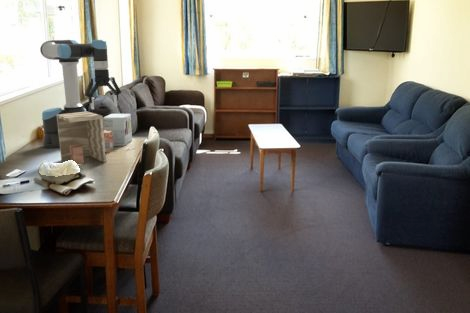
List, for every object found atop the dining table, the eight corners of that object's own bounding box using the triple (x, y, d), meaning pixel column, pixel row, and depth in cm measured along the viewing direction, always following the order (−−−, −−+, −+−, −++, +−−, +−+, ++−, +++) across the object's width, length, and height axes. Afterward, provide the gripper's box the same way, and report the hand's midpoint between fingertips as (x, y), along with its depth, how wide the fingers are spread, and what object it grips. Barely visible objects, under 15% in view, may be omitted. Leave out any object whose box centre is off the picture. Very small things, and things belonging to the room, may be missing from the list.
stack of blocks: (75, 152, 276) (73, 132, 273) (79, 149, 282) (77, 130, 279) (110, 152, 274) (108, 132, 271) (114, 150, 280) (112, 130, 277)
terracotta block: (71, 163, 250) (69, 145, 248) (80, 162, 253) (78, 144, 251) (74, 165, 246) (72, 147, 244) (83, 164, 249) (82, 145, 247)
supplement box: (125, 146, 290) (123, 117, 286) (104, 146, 291) (102, 117, 286) (133, 140, 307) (131, 113, 302) (113, 140, 308) (111, 113, 303)
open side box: (61, 160, 258) (56, 114, 251) (91, 155, 268) (87, 111, 262) (75, 167, 242) (70, 119, 236) (106, 162, 252) (102, 115, 246)
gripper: (81, 70, 242) (85, 110, 247) (125, 68, 257) (128, 106, 262) (76, 69, 247) (79, 109, 253) (119, 67, 262) (122, 104, 268)
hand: (104, 107), depth 257 cm, fingers open, 13 cm apart
